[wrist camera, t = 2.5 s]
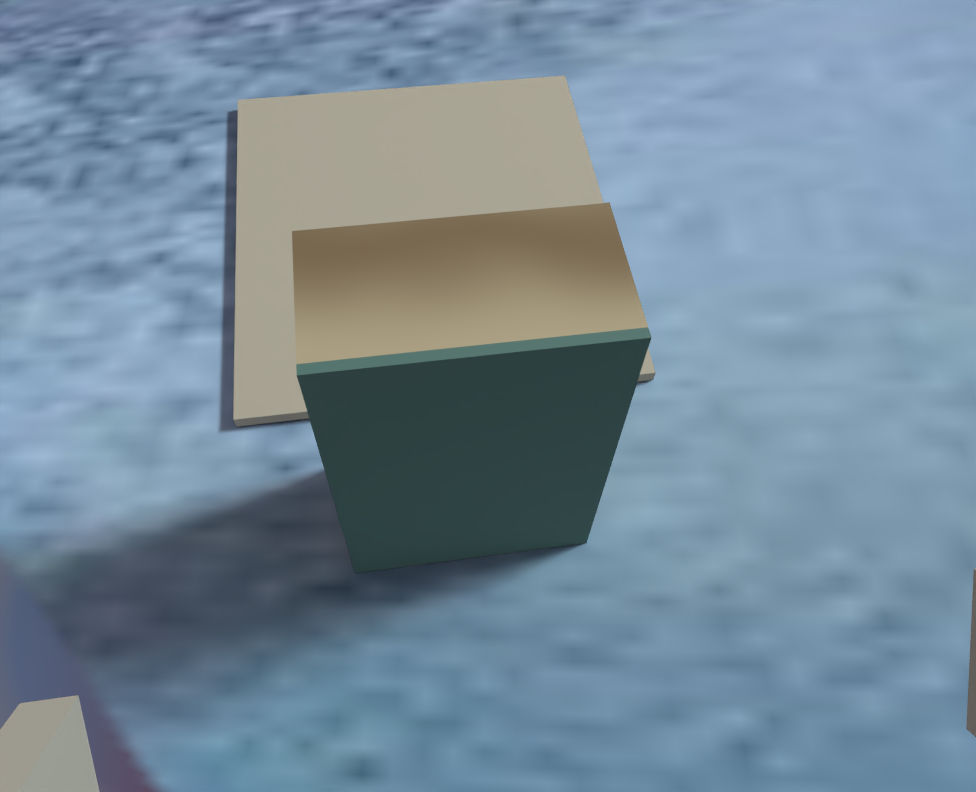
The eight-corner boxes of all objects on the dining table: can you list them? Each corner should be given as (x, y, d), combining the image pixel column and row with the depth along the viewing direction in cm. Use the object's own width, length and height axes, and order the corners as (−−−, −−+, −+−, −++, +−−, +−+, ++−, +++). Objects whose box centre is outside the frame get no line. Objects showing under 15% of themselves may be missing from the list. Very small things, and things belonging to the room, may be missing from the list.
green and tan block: (586, 542, 29) (651, 337, 19) (355, 573, 29) (296, 375, 19) (562, 436, 32) (609, 202, 22) (347, 461, 31) (291, 231, 21)
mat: (653, 379, 33) (655, 372, 33) (236, 426, 32) (233, 419, 31) (563, 84, 43) (565, 75, 42) (240, 108, 41) (237, 100, 41)
